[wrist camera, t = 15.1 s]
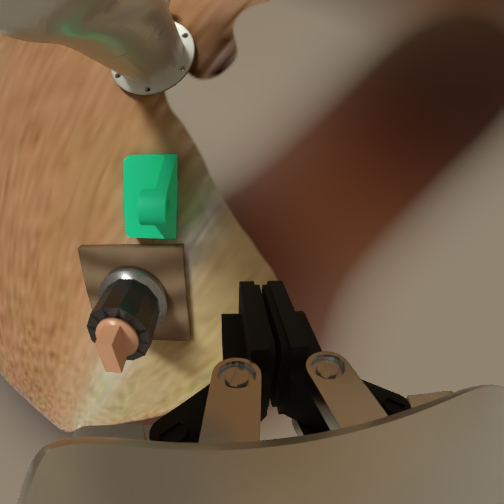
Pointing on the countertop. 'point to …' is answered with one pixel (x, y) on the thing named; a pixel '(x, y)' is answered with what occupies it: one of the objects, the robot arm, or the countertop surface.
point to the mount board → (153, 260)
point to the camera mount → (150, 195)
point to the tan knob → (115, 343)
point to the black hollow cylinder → (131, 304)
